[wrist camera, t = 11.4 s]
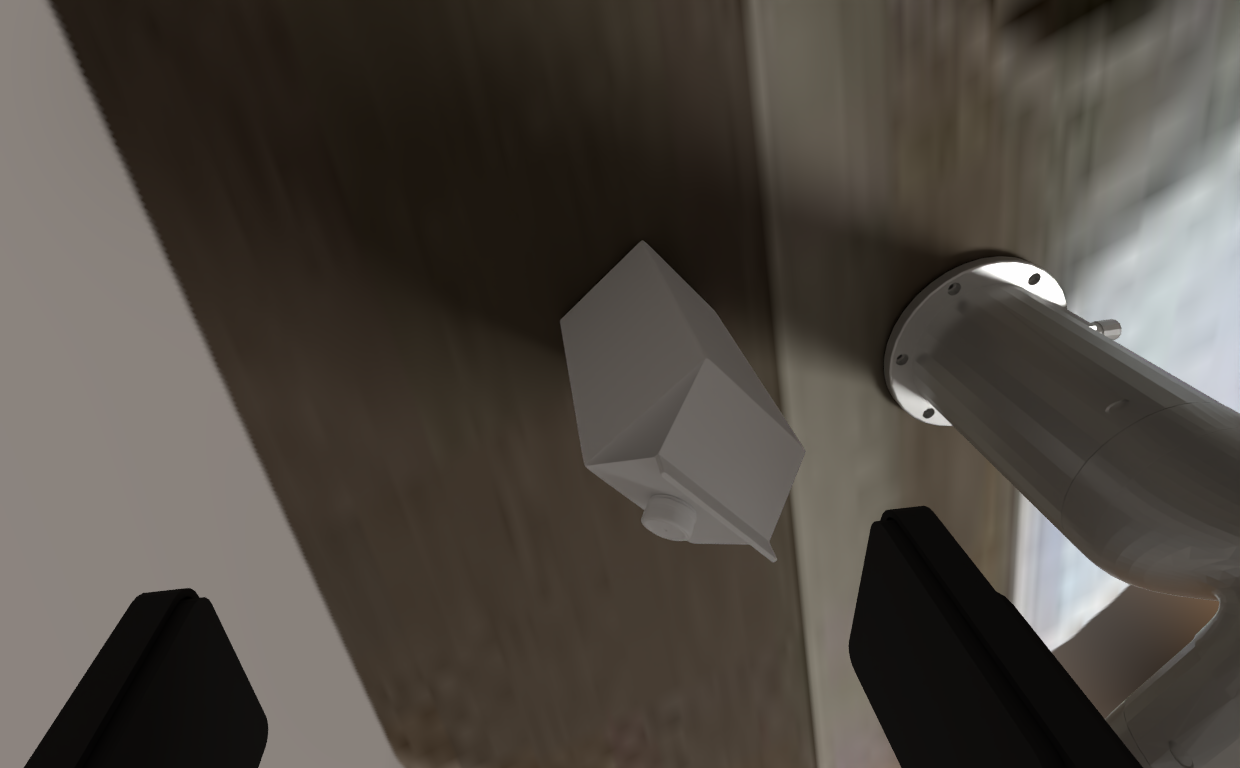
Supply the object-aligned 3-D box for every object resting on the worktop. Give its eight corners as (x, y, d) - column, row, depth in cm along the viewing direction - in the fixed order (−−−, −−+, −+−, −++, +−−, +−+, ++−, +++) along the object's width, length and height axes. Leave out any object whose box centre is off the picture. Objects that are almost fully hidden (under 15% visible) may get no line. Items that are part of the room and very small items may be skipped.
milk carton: (641, 237, 40) (736, 410, 24) (716, 312, 43) (845, 509, 27) (558, 319, 42) (593, 531, 26) (636, 385, 45) (711, 610, 29)
